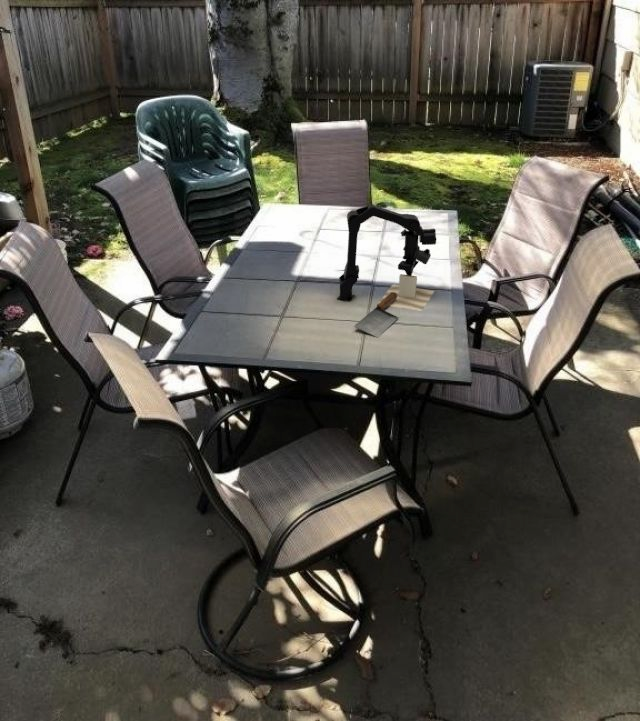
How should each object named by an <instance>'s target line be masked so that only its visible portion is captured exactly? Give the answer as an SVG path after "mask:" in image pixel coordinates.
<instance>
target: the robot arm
mask: <svg viewBox="0 0 640 721" xmlns="http://www.w3.org/2000/svg"><path fill="white" fill-rule="evenodd" d="M373 217H375V218H378V219H382V220H384V221H387V222H391V223H394V224H397V225H398V226H400V227H402V228H403V230H402V231H400V234H401V237H404V247H403V249H402V250H403V251H404V254H403V256H402V259H403V260H401V261H400V262H399V263H398V264H397V269H398V270H399V271H404V272H405V275H411V276H413V272H414V269H415V268H416V266H417V265H418V264H419V263H422V264H424V265H427V264H428V262H429V261H430V258H431V253H430V252H431V251H430V249H428V248H426V249H422V250H421V248H420V246H419V243H420V244H421V245H422V246H425V245H426V246H428V245H429V246H432V245H436V244H437V235H436V233H437V232H436V229H435V228H423V227H422V225H421V222H420V220H419V218H418V216H416V215H415V214H410V213H398V212H396V211H393V210H390V209H386V208H383V207H381V206H378V205H376V204H373V203H372V204H368V205H366V206H362V207H359V208H358V209H355V210H354V209H352V210H350V211H348V212H347V215H346V222H347V228H348V241H347V255H346V256H347V257H346V258H347V259H346V263H345V266H344V270H343V273H342V274H341V275H340V276H339V277H338V280H339V295H338V297H337V298H336V300H337V301H345V302H351V301H352V300H353V299H354V298H355V297H356V295H355V294H353V287H354V285H355V284H356V283H357V282H358V279H360V278H359V277H360V276H359V275H360V266H359V264H357V250H358V249H357V248H358V247H357V246H358V234H359V232H360V228H361V225H362V224H363V223H365V222H367V221H368V220H369V219H371V218H373Z"/></svg>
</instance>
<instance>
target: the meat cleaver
mask: <svg viewBox="0 0 640 721" xmlns="http://www.w3.org/2000/svg"><path fill="white" fill-rule="evenodd" d="M396 298H397V294H396V293H395V292H391V293H390V295H388V296H387V297H386V298H384V299H383V300H382V301H381V302H380V303H379V302H378V303H377V304H376V306H375V308H373V309H372V311H370V312H369V313H368V314H366V316H364V317H363V318H361V319H360V320H359V321H358V322H357V323H355V325H354V329H357V330H360V331H362V332H364V333H367V334H368V335H372V336H373V337H374V338H375V337H376V338H379V337H380V336H381V335H382V334H384V332H385V331H386V330H387V329H388V328H389V327H390V326H391V325H393V323H395V322H396V321H397V320H398V319H399V317H398V316H396V315H395V314H392V313H390V312H388V311H386V310H385V309H386V308H388V307H389V306H388V305H390V304H391V303H392V302H393V301H394V300H395V299H396Z"/></svg>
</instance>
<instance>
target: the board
mask: <svg viewBox="0 0 640 721" xmlns="http://www.w3.org/2000/svg"><path fill="white" fill-rule="evenodd" d="M391 292H395V293H396V294H397V298H396V299H395V300H394V301H393V302H392V303H391V304H390V305H388V306H387V307H392V308H393V307H394V308H399V309H406V310H411V311H412V310H413V311H418V312H422V311H423V310H424V309H425V307H426V305H427V304H428V302H429V300H430V299H431V297H432V296H433V295H434V292H435V290H431V289H425V288H419V287H416V297H415V298H409V297H402V296H399V284H392V285H391V286H390V287H389V288H388V290H387V291H386V293H385V294H384V295H383V296H382V298H381V299H380V300H379V302H378V303H380V302H381V301H382V300H383V299H384V298H386V297H387V296H388V295H390V293H391Z"/></svg>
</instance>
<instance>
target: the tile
mask: <svg viewBox="0 0 640 721" xmlns="http://www.w3.org/2000/svg"><path fill="white" fill-rule="evenodd" d="M398 277H399V278H398V279H399V280H398V282H399V283H398V285H399V296H402V297H409V298H415V297H416V288H417V283H418V282H417V280H418V277H417V276H416V275H412V276H411V275H407V274H403V273H402V274H399V276H398Z"/></svg>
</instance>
